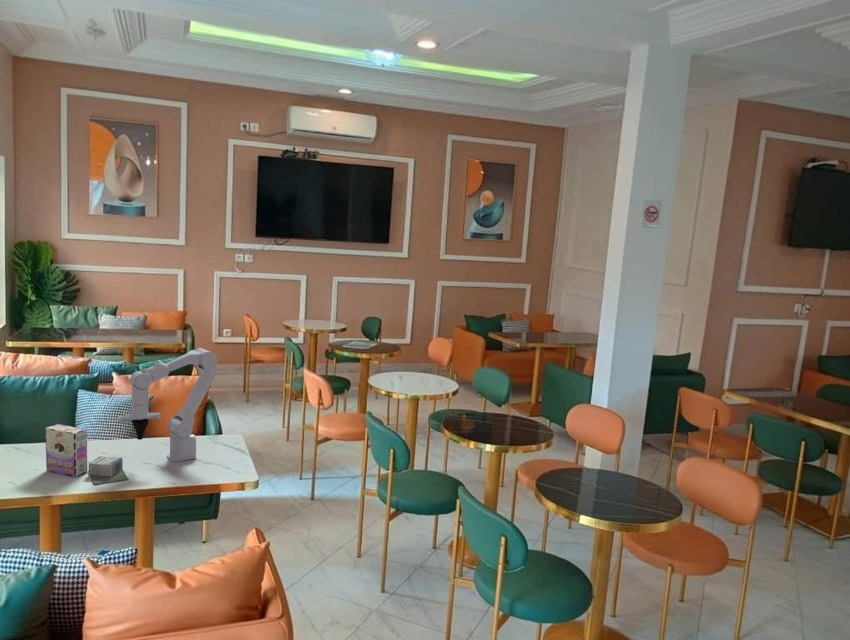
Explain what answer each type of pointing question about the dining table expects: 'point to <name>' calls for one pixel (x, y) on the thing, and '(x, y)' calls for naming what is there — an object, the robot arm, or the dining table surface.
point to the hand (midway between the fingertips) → (139, 438)
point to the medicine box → (105, 466)
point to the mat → (109, 478)
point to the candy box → (66, 450)
